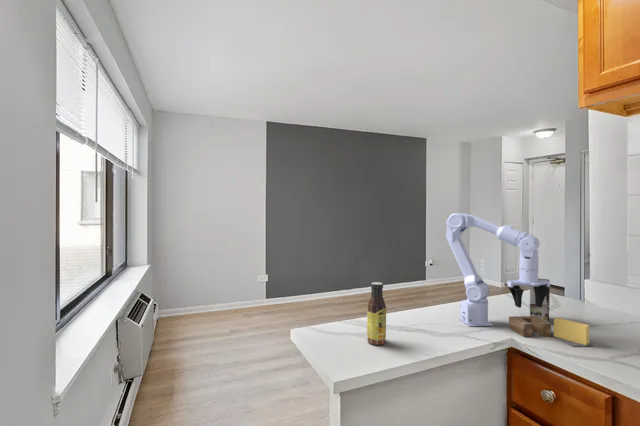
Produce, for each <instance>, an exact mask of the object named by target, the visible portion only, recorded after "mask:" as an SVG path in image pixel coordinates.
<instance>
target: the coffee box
mask: <svg viewBox="0 0 640 426" xmlns="http://www.w3.org/2000/svg"><path fill="white" fill-rule="evenodd" d="M538 280H547V281H550V279H548V278H547V279H546V278H538ZM550 287H551V286H550ZM550 287H548V288H550ZM550 291H551V290H550ZM550 291H549V292H548V293H547V295H546V297H545V299H544V301H543V304H542V307H538V306H536V304H535V292H534V288H533V286H529V316H535V317H538V318H540V319H542V320H544V321H546V322H550V303H551V302H550V299H551V298H550V295H551V294H550Z"/></svg>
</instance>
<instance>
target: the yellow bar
mask: <svg viewBox="0 0 640 426" xmlns="http://www.w3.org/2000/svg"><path fill="white" fill-rule="evenodd" d="M553 332H554V336H555V337H558V338H562V339H566V340H569V341H573V342H576V343H580V344H583V345H587V344H589V343H590V324H587V323H582V322H578V321H573V320H570V319H565V318H561V317H556V318H554V320H553Z"/></svg>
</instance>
